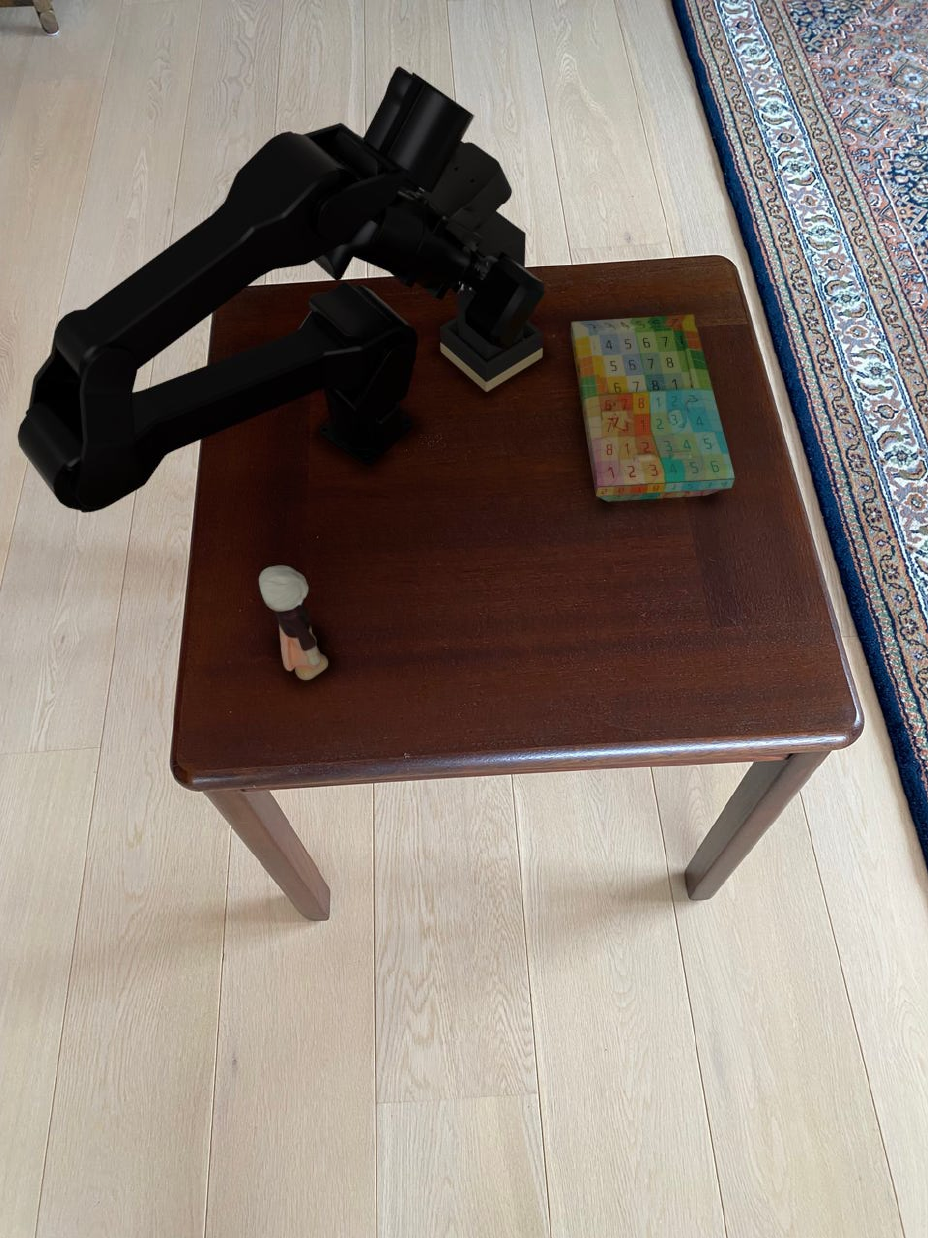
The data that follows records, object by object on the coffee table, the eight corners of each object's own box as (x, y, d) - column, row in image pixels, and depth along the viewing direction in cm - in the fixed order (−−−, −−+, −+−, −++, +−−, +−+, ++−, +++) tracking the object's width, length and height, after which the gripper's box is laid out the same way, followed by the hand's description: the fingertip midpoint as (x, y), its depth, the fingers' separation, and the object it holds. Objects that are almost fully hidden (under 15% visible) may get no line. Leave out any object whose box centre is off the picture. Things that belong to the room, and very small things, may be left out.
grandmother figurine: (263, 640, 76) (223, 555, 65) (302, 615, 77) (270, 527, 66) (313, 707, 73) (280, 629, 62) (353, 680, 74) (328, 599, 63)
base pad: (486, 392, 89) (486, 368, 86) (440, 351, 92) (438, 326, 89) (542, 357, 91) (543, 332, 88) (496, 318, 94) (496, 293, 91)
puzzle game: (598, 480, 77) (572, 314, 87) (593, 513, 82) (568, 351, 92) (737, 471, 77) (695, 306, 87) (725, 505, 81) (686, 344, 91)
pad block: (487, 368, 89) (485, 256, 78) (458, 343, 91) (452, 230, 80) (523, 346, 90) (525, 232, 79) (493, 322, 92) (492, 207, 81)
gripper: (530, 194, 65) (625, 256, 78) (376, 81, 73) (485, 155, 86) (448, 331, 70) (550, 368, 83) (311, 211, 78) (424, 263, 90)
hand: (502, 284), depth 85 cm, fingers open, 5 cm apart
